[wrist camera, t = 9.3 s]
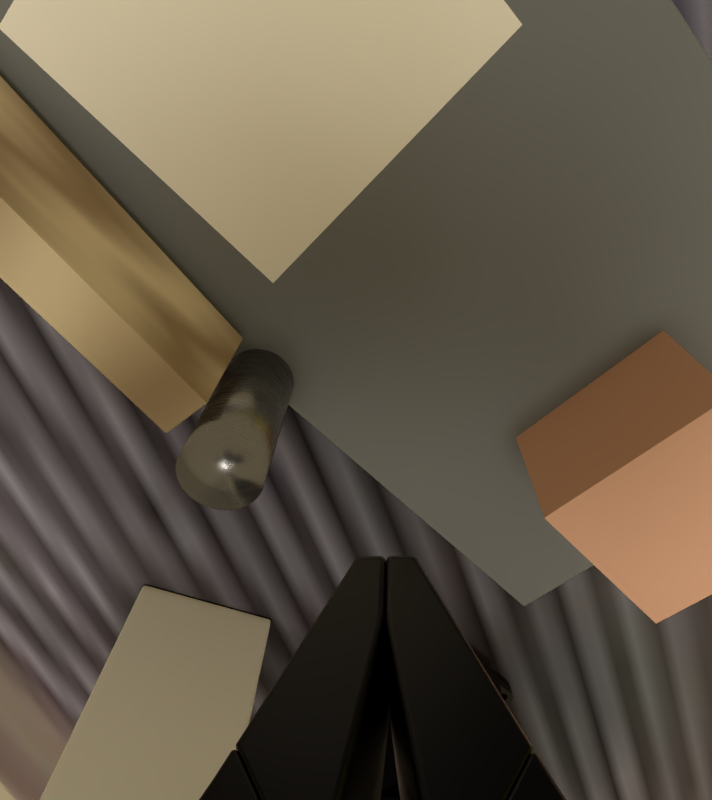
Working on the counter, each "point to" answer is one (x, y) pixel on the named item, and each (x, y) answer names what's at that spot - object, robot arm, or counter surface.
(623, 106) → the grey panel
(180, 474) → the olive long rounded piece
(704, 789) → the counter surface
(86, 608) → the counter surface
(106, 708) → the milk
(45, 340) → the counter surface
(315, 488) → the counter surface
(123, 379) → the tan wooden bar
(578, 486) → the block
